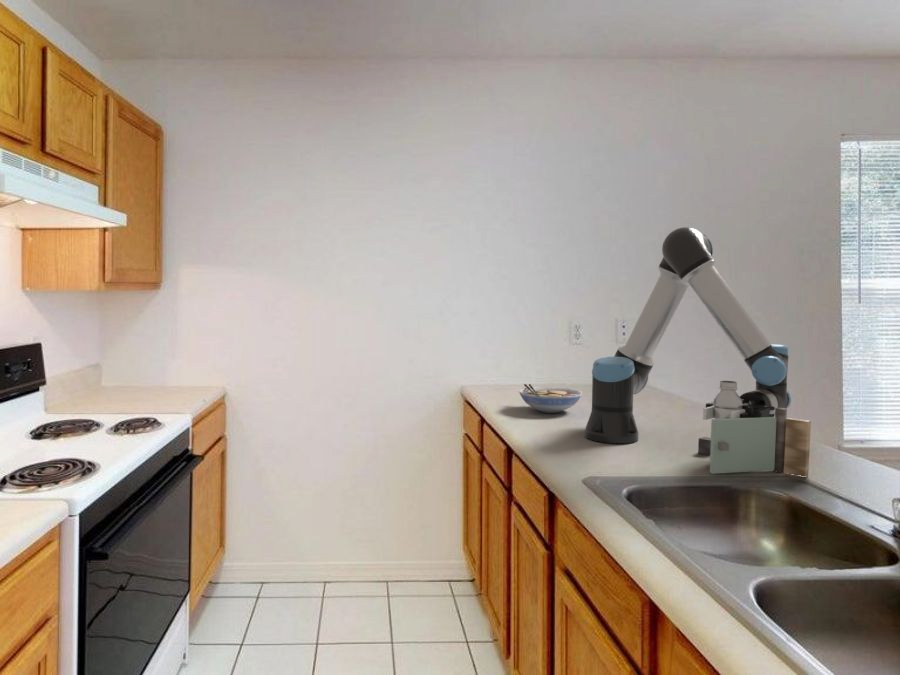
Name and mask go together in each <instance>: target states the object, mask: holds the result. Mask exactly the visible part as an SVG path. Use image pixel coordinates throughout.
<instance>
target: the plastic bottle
mask: <svg viewBox="0 0 900 675" xmlns="http://www.w3.org/2000/svg"><path fill="white" fill-rule="evenodd" d="M719 390H720V391H719V392H718V393H717V394H716V396H715V398H713V401H712V402H713V406H714V416H715V418H714V419H730V415H731V412H734V411H737V410H742V406H743V403H742V400H741V398H740V395H739V394H738V393H737V390H738V382H737V381H734V380H720V382H719Z"/></svg>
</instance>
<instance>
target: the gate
mask: <svg viewBox="0 0 900 675" xmlns="http://www.w3.org/2000/svg"><path fill="white" fill-rule="evenodd" d="M710 423H711V427H710V428H711V431H710V438H711V451H710V455H709V456H710V457H709V473H711V474H726V473H728V474H729V473H744V472H745V473H746V472H761V471H762V472H764V471H773V470H774V464H775V441H776V418H775V416H774V417H760V418H734V419H715V418H711V422H710Z"/></svg>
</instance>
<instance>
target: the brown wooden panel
mask: <svg viewBox="0 0 900 675" xmlns="http://www.w3.org/2000/svg"><path fill="white" fill-rule="evenodd" d="M774 417H775V418H776V441H775V464H774V471H773V472H775V471H777V472H776V473H780V472H783V474H785V473H788V474H787V475H789V474H794V475H801V476H808V477H809V470H810V469H809V468H810V446H811V445H810V444H811V443H810V442H811V430H812V429H811V428H812V426H811V424H812V420H808V419H800V418H794V417H788V408H787V409H785V408H775V414H774ZM697 449H698V450H697V451H698V452H697V454H701V455H706V456H710V451H711V437H707V436H701V437H699V438H698V446H697ZM794 475H793V476H794Z"/></svg>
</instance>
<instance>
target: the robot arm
mask: <svg viewBox="0 0 900 675" xmlns="http://www.w3.org/2000/svg"><path fill="white" fill-rule="evenodd" d="M661 250H662V251H661V252H662V255H663V258H661V261H660V263H659V266H658V271H659V274H660V275H659V277H658V279H657V281H656V283H655V285H654V287H653V289H652V291H651V293H650V295H649V297H648V299H647V301H646V303H645V305H644V307H643V309H642V311H641V313H640V315H639V317H638V319H637V321H636V322H635V325H634V327H633V329H632V331H631V333H630V335H629V337H628V339H627V341H626V343H625V345H622V346H620V347H618V348H617V350H616V352H615V354H614V356H605V357H600V358H597V359H595V360H594V361H593V365H592V370H591V375H592V376H591V378H592V382H591V383H592V384H591V386H592V387H591V411H590V415H589V416H588V417H589V418H588V420H587V423H586V425H585V430H584V431H585V432H584V433H585V434H584V437H585V436H586V437H587V438H586V437H585V438H586V439H588V438H589V439H588V440H591V441H595V442H598V441H599V442H598V443H604V442H605V444H616V443H623V444H632V443H636V442H638V441H639V435H640V434H639V433H640V432H639V429H638V426H637V422H636V420H635V416H634V413H633V412H634V396H635V395H637V394H638V393H640V392H642V390H644V389H645V387H646V386H647V383H648V380H649V375H650V373H651V370H652V368H653V367H654V361H653V355H654V353H655V351H656V350H657V347H658V346H659V344H660V342H661V340H662V338H663V336H664V334H665V332H666V330H667V328H668V327H669V325H670V322H671V320H672V319H673V317H674V314H675V313H676V310H678V307H679V305H680V303H681V301H682V299H683V297H684V295H685V294H686V291H687V290H688V288H689V286H690V287H691V288H692V290H693V291H694V292H695V294H696V295H697V296H698V299H700V302H702V304H703V305H704V307H705V308H706V309H707V310H708V313H710V315H711V317H712V318H713V319H714V320H715V322H716V323H717V324H718V325H717V326H719V327H720V329H721V331H722V332H723V333H724V334H725V335H726V337H727V338H728V340H729V341H730V343H731V344H732V345H733V348H735V350H736V351H737V353H738V354H739V355H740V357H741V358H742V359H743V361H744V363H745V364H746V365H747V367H748V368H749V370H750V371H751V374H752V375H751V376H752V377H753V378H754V380H755V390H752V391H748V392H744V393H742V394H741V395H739V397H740V398H741V400H742V403H743V406H742V410H737V411H734V412H731V415H730V419H734V418H760V417H775V408H785V409H787V410H788V408H789V407H790V406H791V403H792V396H791V394H790V392H789V391H788V382H787V381H788V371H789V370H788V369H789V368H788V366H789V348H788V346H787V345H786V344H785V345H784V344H778V343H777V344H775V343H774V344H771V342H770V341H769V340H768V338H767V337H766V335H765V334H764V333H763V331H762V330H761V329H760V327H759V326H758V324H757V323H756V322H755V320H754V319H753V318H752V316H751V315H750V314H749V312H748V311H747V310H746V308H745V307H744V306H743V304H742V303H741V301H740V300H739V299H738V297H737V296H736V294H735V293H734V292H733V290H732V289H731V288H730V286H729V284H728V283H727V282H726V281H725V279H724V278H723V277H722V276H721V274H720V273H719V271H718V269H717V268H716V267H715V258H714V257H713V253H714V251H713V250H714V249H713V244H712V242H711V240H710V239H709V237H708V236H707V235H705V234H703V233H702V232H700V231H699V230H697V229H696V228H693V227H689V226H688V227H680V228H676V229H673V230H672V231H671V232H670V233H668V234H667V236H666V237H665V238H664V241H663V243H662V248H661ZM702 411H703V412H702V414H703V415H702V420H703V421H704V420H705V421H707V420H710V419H711V420H712V419H715V416H714V406H713V401H711V402H707V403H705V407H704V408H703V409H702Z"/></svg>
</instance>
